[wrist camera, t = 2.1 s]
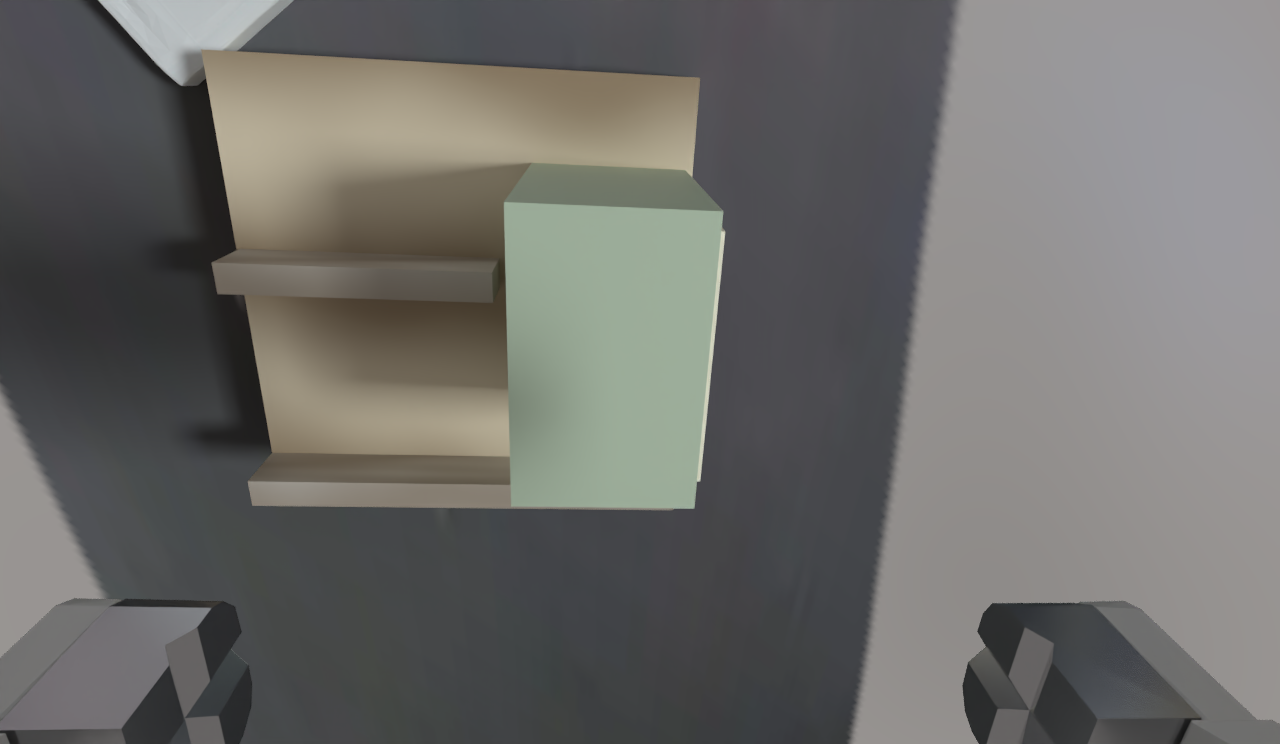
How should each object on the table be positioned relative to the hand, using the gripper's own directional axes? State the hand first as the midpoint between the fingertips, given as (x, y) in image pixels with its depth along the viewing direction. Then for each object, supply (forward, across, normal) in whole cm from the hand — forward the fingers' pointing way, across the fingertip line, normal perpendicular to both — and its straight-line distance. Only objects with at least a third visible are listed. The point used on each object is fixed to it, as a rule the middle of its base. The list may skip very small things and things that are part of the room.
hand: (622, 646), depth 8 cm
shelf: (+15, +4, -1) cm, 16 cm away
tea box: (+13, 0, 0) cm, 13 cm away
